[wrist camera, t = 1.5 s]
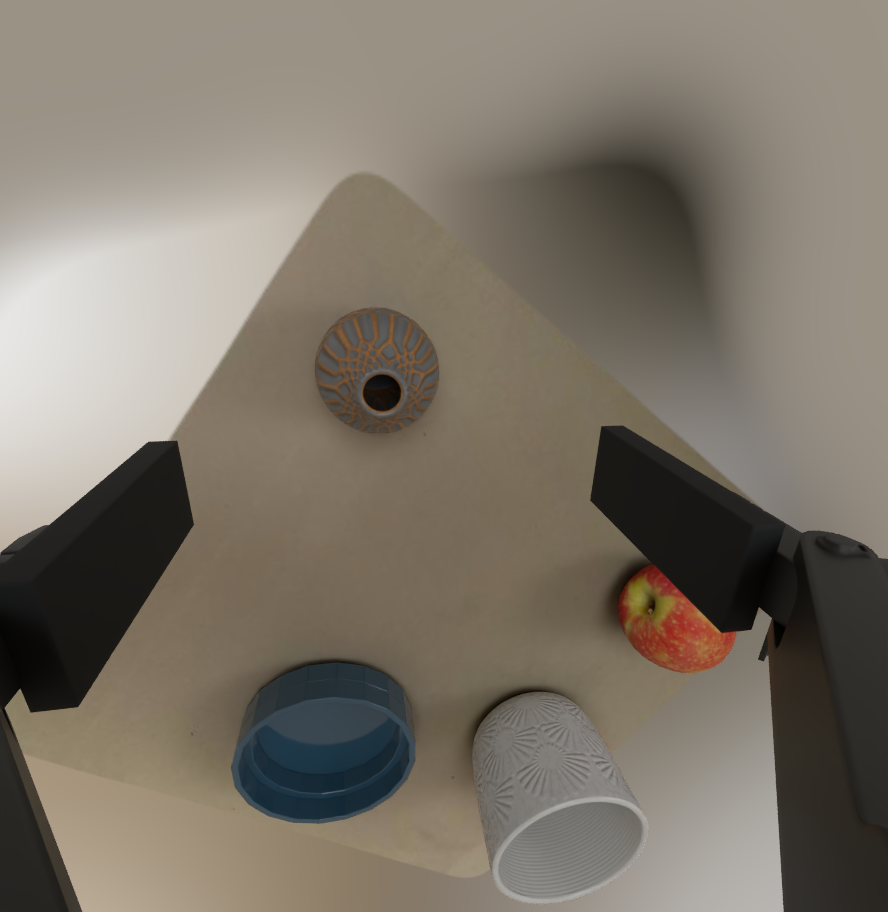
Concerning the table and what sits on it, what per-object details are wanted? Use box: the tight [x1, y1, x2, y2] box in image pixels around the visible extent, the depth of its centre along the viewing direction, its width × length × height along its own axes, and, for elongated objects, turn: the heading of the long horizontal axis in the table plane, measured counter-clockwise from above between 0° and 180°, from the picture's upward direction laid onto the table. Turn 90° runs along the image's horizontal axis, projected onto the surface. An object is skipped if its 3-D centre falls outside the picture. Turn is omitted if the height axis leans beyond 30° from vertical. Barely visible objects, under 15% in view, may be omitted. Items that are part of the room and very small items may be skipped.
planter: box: [472, 692, 648, 904], centre depth 40 cm, size 12×12×11 cm
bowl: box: [231, 663, 415, 824], centre depth 39 cm, size 14×14×4 cm
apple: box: [618, 564, 736, 673], centre depth 38 cm, size 8×8×8 cm
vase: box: [315, 308, 439, 434], centre depth 26 cm, size 7×7×9 cm
